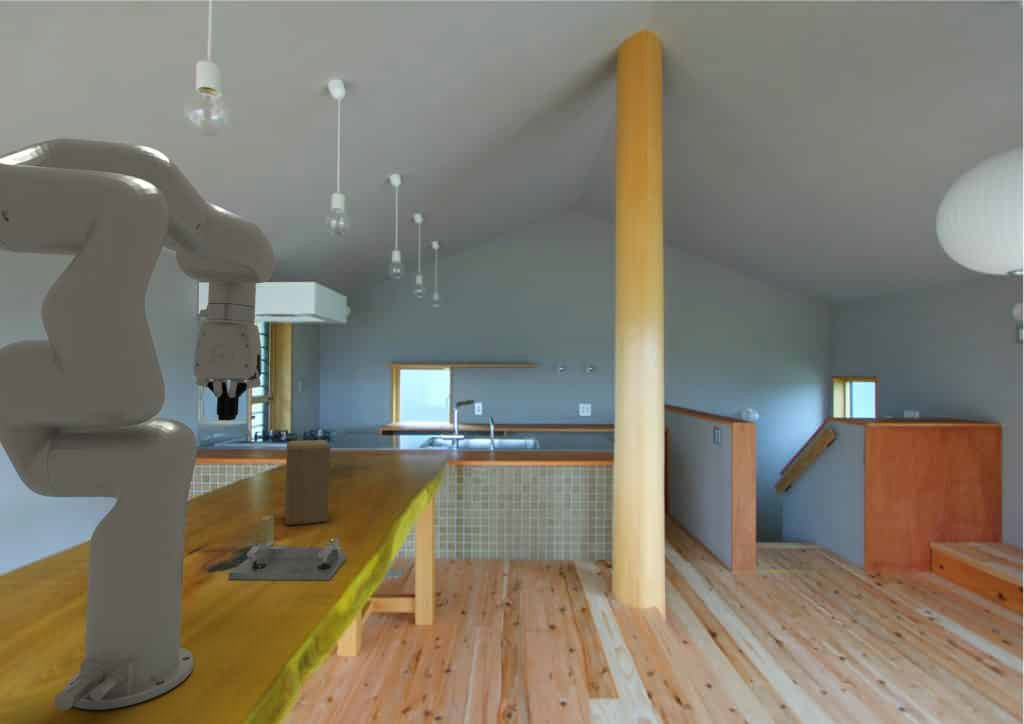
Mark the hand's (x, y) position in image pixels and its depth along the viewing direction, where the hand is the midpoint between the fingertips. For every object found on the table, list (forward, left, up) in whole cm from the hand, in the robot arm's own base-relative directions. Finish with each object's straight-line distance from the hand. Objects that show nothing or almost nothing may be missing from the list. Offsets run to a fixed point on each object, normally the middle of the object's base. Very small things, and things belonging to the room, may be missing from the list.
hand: (227, 419), depth 96 cm
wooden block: (+45, 0, -29) cm, 54 cm away
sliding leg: (+9, -3, -28) cm, 29 cm away
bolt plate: (+9, -9, -29) cm, 32 cm away
